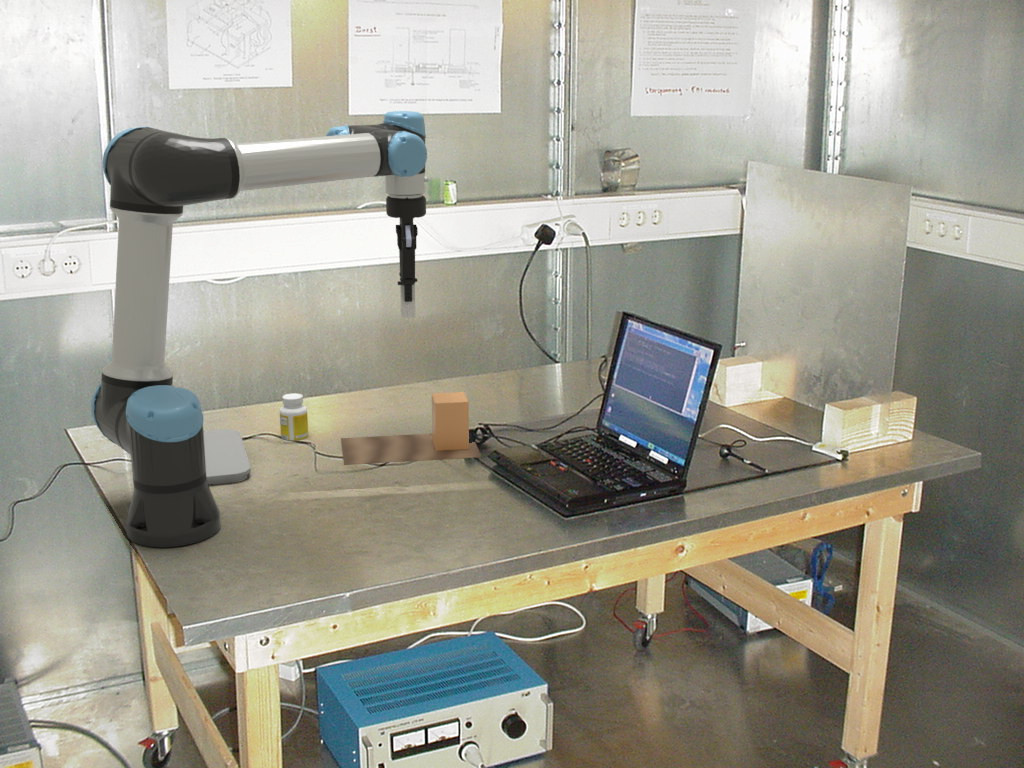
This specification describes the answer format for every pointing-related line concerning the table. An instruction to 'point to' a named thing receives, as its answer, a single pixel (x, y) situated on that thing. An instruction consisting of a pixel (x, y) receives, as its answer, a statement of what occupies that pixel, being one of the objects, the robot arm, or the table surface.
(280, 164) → the robot arm
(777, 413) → the table surface
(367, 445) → the walnut board
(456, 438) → the upright tan block
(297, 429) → the supplement bottle
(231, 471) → the tablet
